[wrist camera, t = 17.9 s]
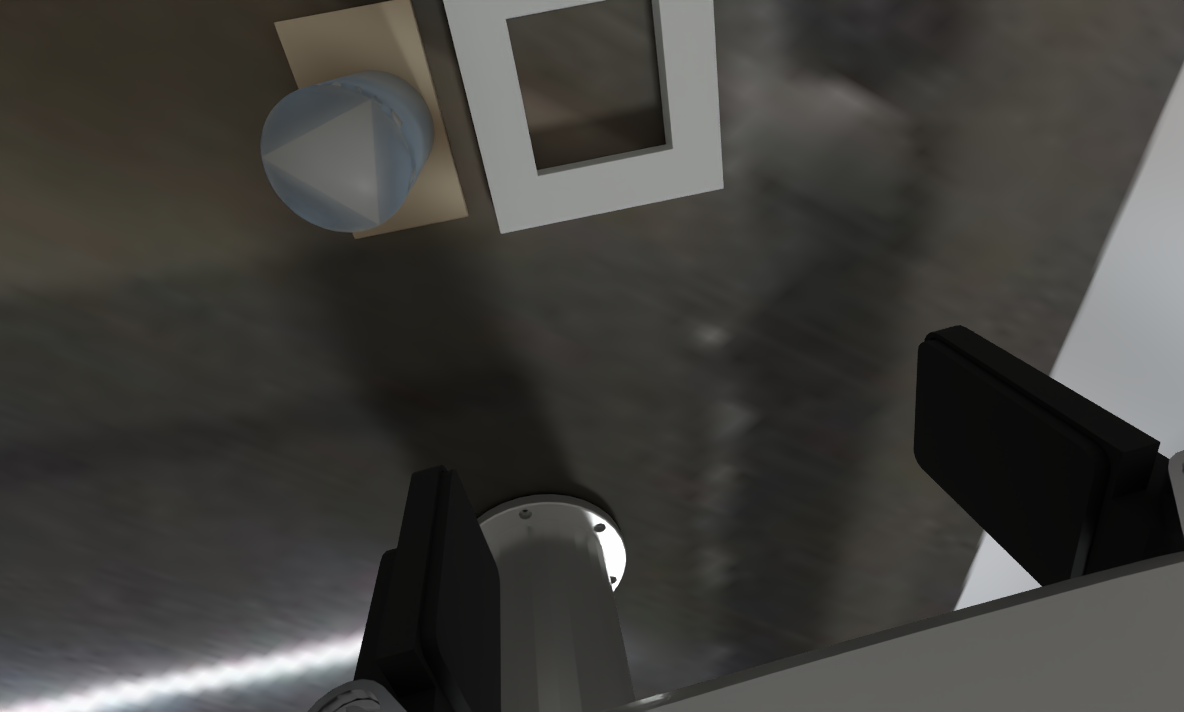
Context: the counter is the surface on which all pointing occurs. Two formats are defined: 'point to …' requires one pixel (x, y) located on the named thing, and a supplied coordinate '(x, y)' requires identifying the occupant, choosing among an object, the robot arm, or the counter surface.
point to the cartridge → (347, 149)
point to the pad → (392, 47)
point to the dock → (604, 182)
